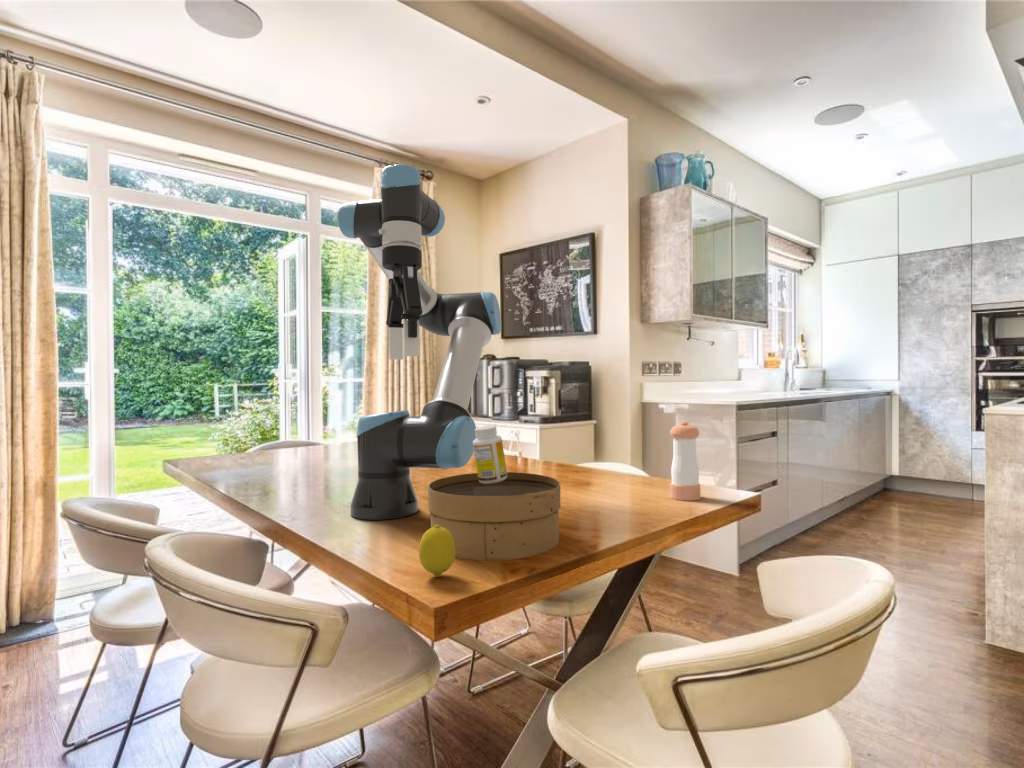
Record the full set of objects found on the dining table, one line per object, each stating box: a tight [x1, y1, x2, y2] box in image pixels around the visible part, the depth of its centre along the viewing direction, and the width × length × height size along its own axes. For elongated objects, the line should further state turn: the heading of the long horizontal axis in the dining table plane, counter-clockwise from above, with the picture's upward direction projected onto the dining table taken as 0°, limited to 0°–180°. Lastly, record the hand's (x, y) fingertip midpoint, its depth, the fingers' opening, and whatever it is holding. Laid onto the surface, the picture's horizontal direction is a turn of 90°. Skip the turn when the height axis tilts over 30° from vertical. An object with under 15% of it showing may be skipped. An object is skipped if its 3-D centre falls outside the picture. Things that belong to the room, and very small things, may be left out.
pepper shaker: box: [669, 421, 701, 501], centre depth 137 cm, size 7×7×19 cm
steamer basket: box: [427, 471, 561, 562], centre depth 103 cm, size 25×25×11 cm
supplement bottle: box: [473, 425, 508, 484], centre depth 102 cm, size 6×6×10 cm
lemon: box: [418, 525, 456, 578], centre depth 83 cm, size 6×6×8 cm
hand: (403, 358), depth 105 cm, fingers open, 13 cm apart
